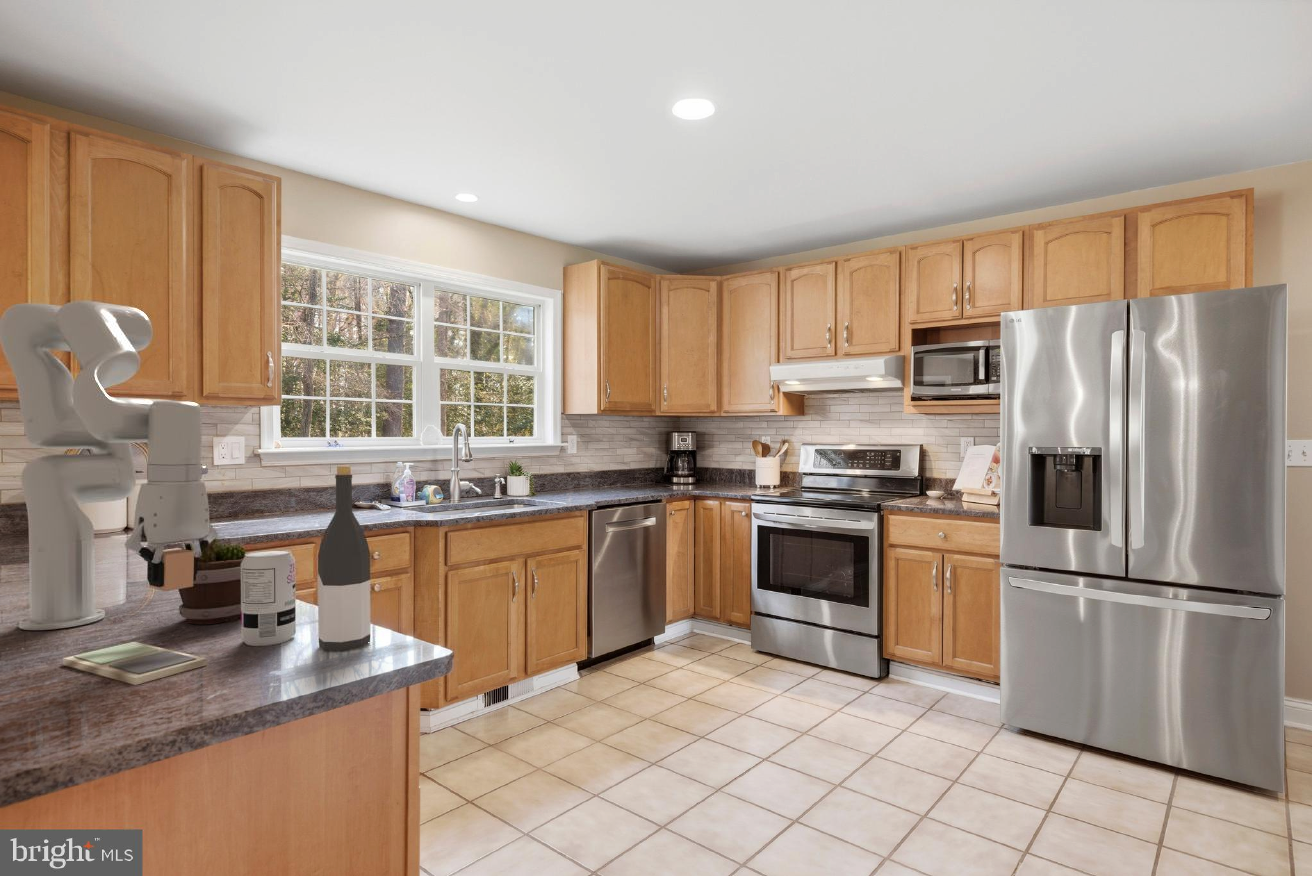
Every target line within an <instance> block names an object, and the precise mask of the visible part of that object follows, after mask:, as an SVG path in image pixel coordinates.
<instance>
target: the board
mask: <svg viewBox="0 0 1312 876" xmlns="http://www.w3.org/2000/svg"><path fill="white" fill-rule="evenodd" d="M207 660H208V659H207V658H206V657H202V656H198V655H197V656H196V655H195V654H194V655H193V654H190V653H189V654H188V653H186V652H181V651H177V650H171V649H167V648H164V647H158V646H154V645H150V644H145V643H141V642H137V641H131V642H127V643H123V644H119V645H115V646H110V647H105V648H101V649H98V650H97V649H96V650H91V651H88V652H83V653H80V654H76V655H71V656H67V657H63V658H62V665H63V666H66V667H70V668H74V669H77V670H79V671H84V672H88V673H90V674H91V673H92V674H96V675H98V676H101V677H106V678H110V679H113V680H116V681H120V682H123V683H126V684H127V683H128V684H130V685H135V686H137V685H140V684H143V683H147V682H148V683H149V682H150V681H154V680H158V679H161V678H165V677H169V676H172V675H173V676H174V675H175V674H180V673H182V672H187V671H189V670H193V669H197V668H201V667H204V666H207V665H208V664H207V663H208V662H207Z"/></svg>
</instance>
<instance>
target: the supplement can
mask: <svg viewBox="0 0 1312 876" xmlns="http://www.w3.org/2000/svg"><path fill="white" fill-rule="evenodd" d="M246 553H247V554H245V557H244V559H243V561H242V563H241V618H240V623H241V625H240V633H241V634H240V635H241V637H240V638H241V641H242V642H244V643H245V645H247V646H250V647H251V646H253V647H267V646H273V645H279V644H282V643H285V642H288V641H290V640H292V637H294V636H295V635H296V633H297V632H296V631H297V627H296V626H297V623H296V620H297V619H296V618H297V617H296V559H295V557H294V555H293V554H292V551H291V550H288V549H269V550H268V549H267V550H256V551H251V552H250V551H249V552H246Z"/></svg>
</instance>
